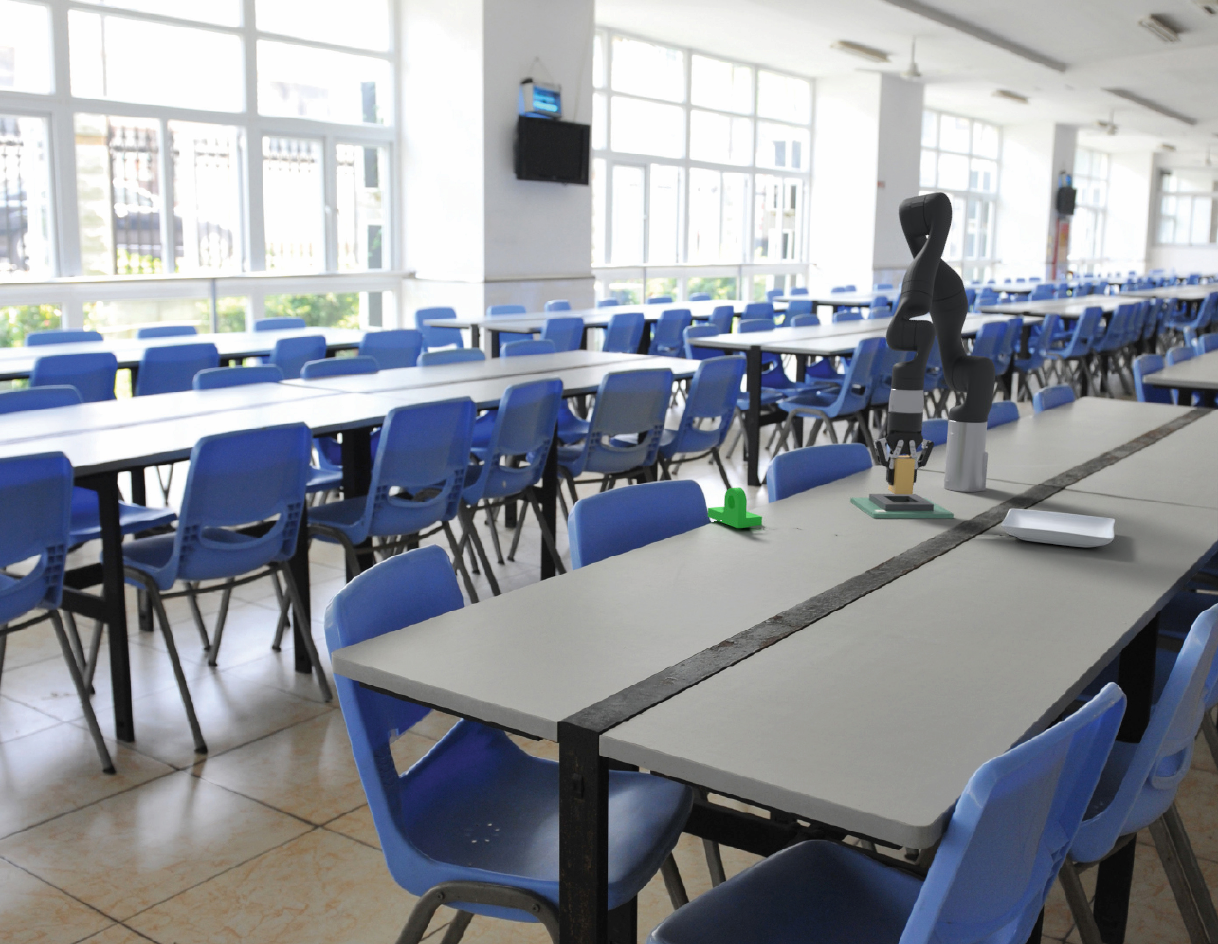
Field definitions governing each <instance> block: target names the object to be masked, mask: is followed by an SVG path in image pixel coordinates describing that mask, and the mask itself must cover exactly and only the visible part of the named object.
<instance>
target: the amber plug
mask: <svg viewBox="0 0 1218 944" xmlns="http://www.w3.org/2000/svg"><path fill="white" fill-rule="evenodd" d="M914 468H915V459H912V458H910V457H908V456H907V455H899V457H898V458H896V460H895V466H894V469H895V473H894V485H889V484H888V491H890V493H891V494H914V485H913V482H914Z"/></svg>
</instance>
